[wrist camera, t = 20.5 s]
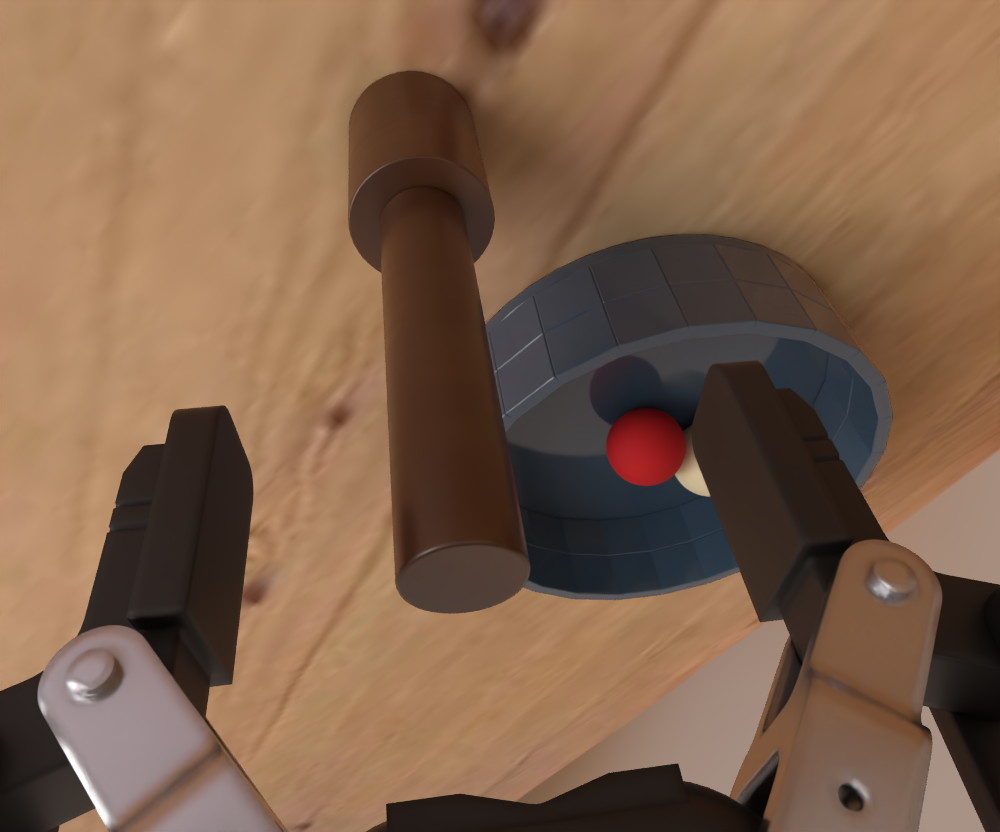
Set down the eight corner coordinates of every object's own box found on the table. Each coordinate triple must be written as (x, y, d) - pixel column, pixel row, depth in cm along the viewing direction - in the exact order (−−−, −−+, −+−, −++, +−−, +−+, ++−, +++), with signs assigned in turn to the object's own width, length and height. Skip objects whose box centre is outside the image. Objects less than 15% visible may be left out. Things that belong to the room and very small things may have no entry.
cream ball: (721, 412, 31) (729, 403, 28) (757, 476, 30) (769, 474, 28) (656, 445, 31) (658, 439, 28) (691, 509, 31) (696, 509, 28)
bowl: (697, 139, 22) (753, 224, 19) (895, 377, 31) (954, 461, 28) (363, 424, 28) (365, 520, 25) (606, 550, 38) (629, 632, 34)
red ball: (580, 464, 28) (604, 399, 30) (631, 502, 30) (652, 438, 31) (637, 456, 26) (661, 386, 27) (690, 498, 27) (710, 429, 28)
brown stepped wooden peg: (405, 41, 19) (460, 480, 9) (498, 130, 21) (623, 563, 11) (323, 137, 20) (296, 599, 11) (417, 211, 22) (466, 654, 13)
